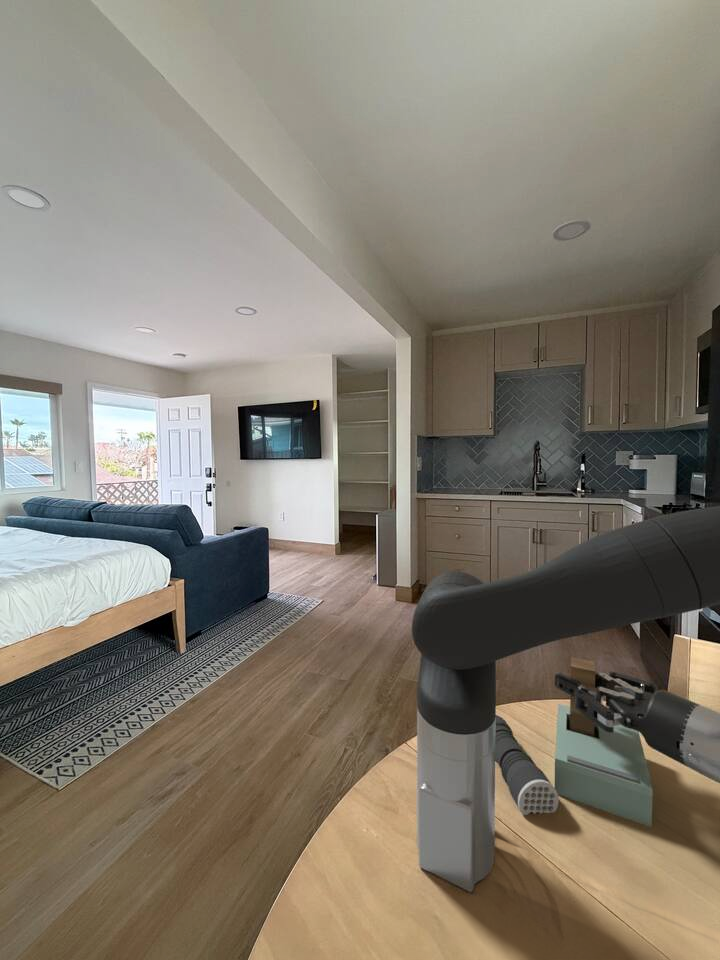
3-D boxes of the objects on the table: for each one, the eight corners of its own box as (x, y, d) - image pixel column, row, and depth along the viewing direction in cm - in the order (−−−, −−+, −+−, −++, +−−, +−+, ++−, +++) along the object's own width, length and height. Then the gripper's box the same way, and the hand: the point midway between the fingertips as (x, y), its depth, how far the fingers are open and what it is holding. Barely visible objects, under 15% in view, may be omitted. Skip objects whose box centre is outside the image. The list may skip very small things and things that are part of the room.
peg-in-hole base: (651, 834, 50) (652, 786, 50) (554, 800, 55) (555, 756, 55) (635, 760, 62) (636, 721, 62) (557, 738, 67) (558, 702, 67)
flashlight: (474, 742, 67) (474, 710, 67) (505, 739, 67) (505, 708, 67) (519, 824, 52) (519, 784, 51) (558, 820, 52) (559, 780, 52)
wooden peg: (593, 762, 60) (595, 671, 59) (569, 755, 61) (571, 666, 61) (592, 748, 62) (594, 661, 62) (569, 742, 64) (571, 657, 63)
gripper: (720, 690, 53) (589, 641, 67) (674, 728, 45) (538, 664, 60) (718, 744, 53) (588, 684, 68) (672, 791, 46) (537, 712, 60)
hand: (565, 675), depth 64 cm, fingers closed on wooden peg, 4 cm apart
